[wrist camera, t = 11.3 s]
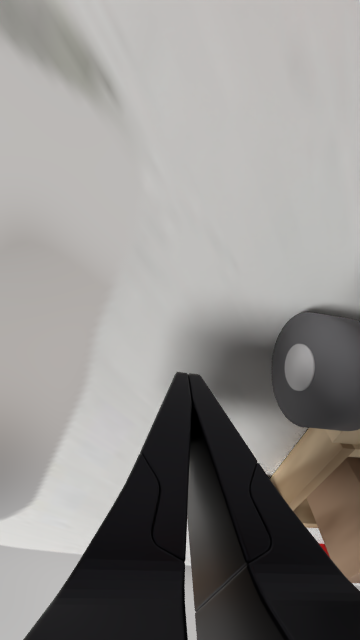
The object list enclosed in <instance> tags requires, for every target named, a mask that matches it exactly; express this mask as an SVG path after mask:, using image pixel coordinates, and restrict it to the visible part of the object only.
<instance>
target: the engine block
mask: <svg viewBox="0 0 360 640" xmlns="http://www.w3.org/2000/svg"><path fill="white" fill-rule="evenodd" d="M307 500H308V503H309V505H310V508H311V510H312V513H313V515H314V518H315V520H316V523H317V526H318V528H319V531H320V533H321V536H322V538H323V541H324V543H325V546H326V548H327V551H328V553H329V556H330V558H331V560H332V561H333V562H334V564H335V565H336V566H337V567H338V568H339V570H340V571H341V572H342V573H343V574H344V576H345V577H346V578H347V579H348V580H349V581H350V582H351V583H360V458H359V457H347V458H346V459H345V460H344V461H343V462H342V463H341V464H340V465H339V466H338V467H337V468H336V469H335V470H334V471H333V472H332V473H331V474H330V475H329V476H328V477H327V478H326V479H325V480H324V481H323V482H322V483H321V484H320V485H319V486H318V487H317V488H316V489H315V490H314V491H313V492H312V493H311V494H310V495H309V496H308V497H307Z"/></svg>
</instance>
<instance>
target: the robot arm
mask: <svg viewBox="0 0 360 640" xmlns="http://www.w3.org/2000/svg"><path fill="white" fill-rule="evenodd" d="M187 518H188V530H189V543H190V555H191V568H192V578H193V579H192V580H193V592H194V605H195V611H196V613H195V618H196V631H197V640H360V591H359V590H358V589H357V588H356V587H355V586H354V585H353V584H352V583H351V582H350V581H349V580H348V579H347V578H346V577H345V576H344V574H343V573H342V572H341V571H340V570H339V568H338V567H337V566H336V565H335V564H334V562H333V561H332V560H331V558H330V557H329V556H328V555H327V553H326V552H325V551H324V550H323V548H322V547H321V546H320V545H319V543H318V542H317V541H316V540H315V538H314V537H313V536H312V534H311V533H310V532H309V531H308V529H307V528H306V527H305V526H304V524H303V523H302V522H301V521H300V519H299V518H298V517H297V516H296V514H295V513H294V512H293V510H292V509H291V508H290V506H289V505H288V504H287V502H286V501H285V500H284V498H283V497H282V496H281V495H280V493H279V492H278V490H277V489H276V487H275V486H274V485H273V483H272V482H271V480H270V479H269V477H268V476H267V475H266V473H265V472H264V470H263V469H262V467H261V466H260V464H259V463H257V460H256V458H255V457H254V455H253V454H252V452H251V451H250V449H249V448H248V446H247V445H246V443H245V442H244V440H243V439H242V437H241V436H240V434H239V433H238V431H237V430H236V428H235V427H234V425H233V424H232V422H231V421H230V419H229V418H228V416H227V415H226V413H225V412H224V410H223V409H222V407H221V406H220V404H219V403H218V401H217V400H216V398H215V397H214V395H213V394H212V392H211V391H210V389H209V388H208V386H207V385H206V383H205V382H204V380H203V379H202V377H201V376H200V375H198V374H191V373H190V374H187V373H182V372H177V373H176V374H175V376H174V378H173V381H172V383H171V385H170V387H169V389H168V392H167V394H166V396H165V398H164V401H163V403H162V405H161V407H160V410H159V412H158V414H157V416H156V418H155V421H154V423H153V425H152V427H151V430H150V432H149V434H148V436H147V438H146V441H145V443H144V445H143V447H142V450H141V452H140V454H139V456H138V458H137V460H136V463H135V465H134V467H133V469H132V471H131V473H130V475H129V477H128V479H127V481H126V483H125V485H124V487H123V489H122V491H121V492H120V494H119V496H118V498H117V499H116V501H115V503H114V505H113V506H112V508H111V510H110V511H109V513H108V515H107V516H106V518H105V520H104V521H103V523H102V524H101V526H100V528H99V529H98V531H97V533H96V534H95V536H94V538H93V539H92V541H91V543H90V544H89V546H88V548H87V549H86V551H85V552H84V554H83V556H82V557H81V559H80V561H79V562H78V564H77V566H76V567H75V569H74V570H73V572H72V573H71V575H70V577H69V578H68V580H67V581H66V582H65V584H64V586H63V587H62V588H61V590H60V591H59V593H58V594H57V596H56V597H55V598H54V600H53V601H52V603H51V604H50V605H49V607H48V608H47V609H46V611H45V612H44V613H43V614H42V616H41V617H40V619H39V620H38V621H37V623H36V624H35V625H34V627H33V628H32V629H31V630H30V632H29V633H28V634H27V636H26V637H25V638H24V639H23V640H188V638H187V626H186V614H185V598H184V597H185V592H184V591H185V590H184V581H185V580H184V579H185V563H184V562H185V554H186V532H187Z"/></svg>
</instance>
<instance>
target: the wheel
mask: <svg viewBox="0 0 360 640" xmlns="http://www.w3.org/2000/svg"><path fill="white" fill-rule="evenodd" d="M271 374H272V385H273V390H274V394H275V398H276V400H277V403H278V405H279V407H280V409H281V411H282V412H283V414H284V415H285V416H286V417H287V418H288V419H289V420H290V421H291V422H292V423H294V424H296V425H298V426H301V427H308V428H318V429H328V430H338V431H355V430H359V429H360V322H359V321H357V320H354V319H350V318H344V317H337V316H331V315H325V314H318V313H312V312H304V313H300V314H298V315H296V316H294V317H293V318H291V319H290V320H289V321H288V322H287V323H286V325H285V326H284V327H283V329H282V331H281V332H280V334H279V336H278V339H277V341H276V344H275V348H274V352H273V357H272V367H271Z"/></svg>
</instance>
